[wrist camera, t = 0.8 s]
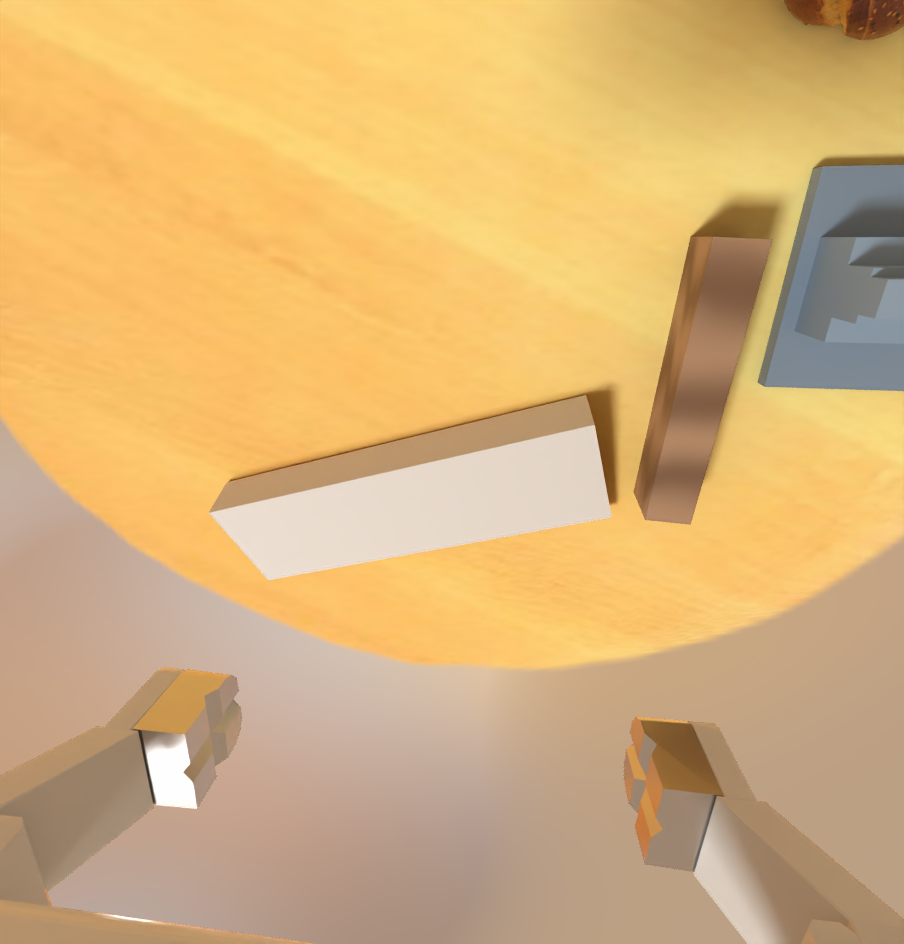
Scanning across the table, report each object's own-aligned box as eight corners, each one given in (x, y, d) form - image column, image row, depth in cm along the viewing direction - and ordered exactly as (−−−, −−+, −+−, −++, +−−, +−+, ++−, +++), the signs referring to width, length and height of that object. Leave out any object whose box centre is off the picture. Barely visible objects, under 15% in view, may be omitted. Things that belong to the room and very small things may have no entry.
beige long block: (601, 480, 47) (584, 390, 41) (611, 517, 43) (594, 424, 37) (282, 544, 55) (229, 477, 49) (268, 580, 51) (208, 512, 45)
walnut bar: (689, 236, 35) (713, 236, 31) (740, 238, 35) (772, 239, 30) (633, 490, 44) (645, 519, 39) (673, 494, 43) (690, 524, 39)
